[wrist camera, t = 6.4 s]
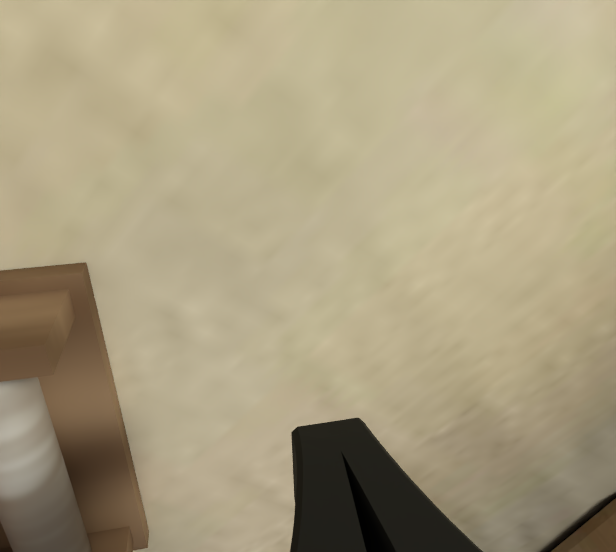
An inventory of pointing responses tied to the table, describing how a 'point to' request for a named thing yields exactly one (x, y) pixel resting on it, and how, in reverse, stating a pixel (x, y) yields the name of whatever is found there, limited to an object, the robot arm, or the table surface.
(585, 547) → the wooden block
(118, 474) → the track
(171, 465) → the table surface
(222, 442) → the table surface
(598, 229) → the table surface
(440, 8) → the table surface
